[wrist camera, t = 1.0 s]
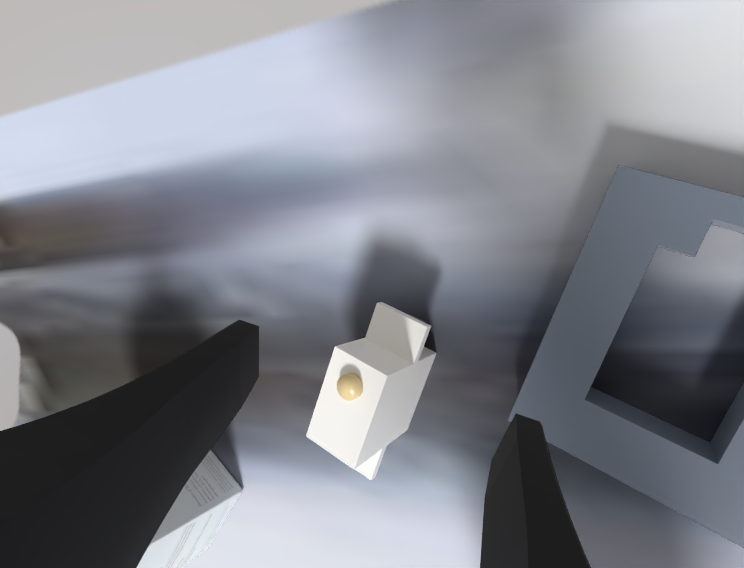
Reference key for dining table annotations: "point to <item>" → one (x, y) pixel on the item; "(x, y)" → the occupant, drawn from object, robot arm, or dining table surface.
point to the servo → (372, 389)
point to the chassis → (594, 336)
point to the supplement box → (193, 516)
